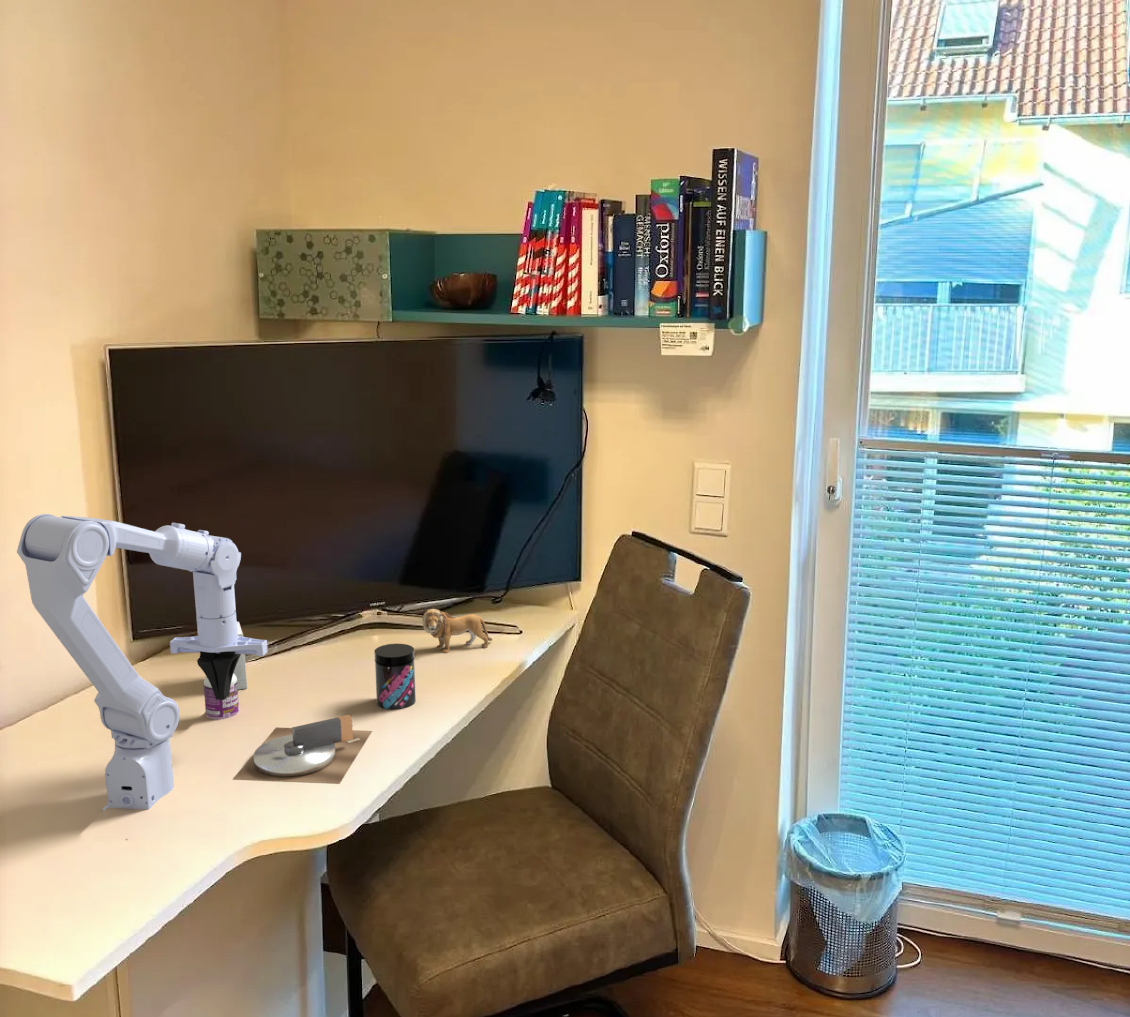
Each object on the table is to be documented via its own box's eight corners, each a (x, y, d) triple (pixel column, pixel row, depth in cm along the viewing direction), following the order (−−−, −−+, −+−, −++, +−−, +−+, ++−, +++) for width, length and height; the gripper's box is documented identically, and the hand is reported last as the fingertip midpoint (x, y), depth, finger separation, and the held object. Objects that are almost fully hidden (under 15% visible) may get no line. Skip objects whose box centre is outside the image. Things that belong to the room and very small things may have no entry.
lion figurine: (428, 658, 205) (427, 614, 203) (419, 650, 210) (417, 607, 208) (497, 646, 212) (496, 603, 210) (486, 638, 216) (486, 596, 214)
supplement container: (369, 712, 180) (367, 655, 178) (387, 697, 186) (384, 641, 184) (406, 717, 178) (404, 659, 176) (422, 702, 184) (420, 645, 182)
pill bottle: (229, 726, 175) (225, 671, 173) (200, 723, 176) (195, 669, 174) (245, 713, 180) (241, 659, 178) (217, 710, 181) (212, 657, 179)
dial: (266, 783, 152) (264, 753, 151) (244, 752, 162) (242, 723, 161) (365, 759, 160) (364, 730, 159) (338, 730, 170) (337, 702, 169)
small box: (247, 689, 190) (243, 633, 188) (215, 693, 188) (210, 637, 186) (243, 674, 197) (239, 620, 195) (212, 678, 195) (207, 624, 193)
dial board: (339, 789, 153) (339, 782, 153) (233, 785, 154) (232, 778, 154) (372, 736, 171) (372, 730, 170) (276, 733, 172) (275, 726, 172)
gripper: (272, 606, 163) (277, 688, 166) (181, 603, 164) (188, 685, 167) (255, 620, 156) (261, 706, 159) (160, 618, 157) (168, 703, 160)
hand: (222, 697), depth 163 cm, fingers closed
